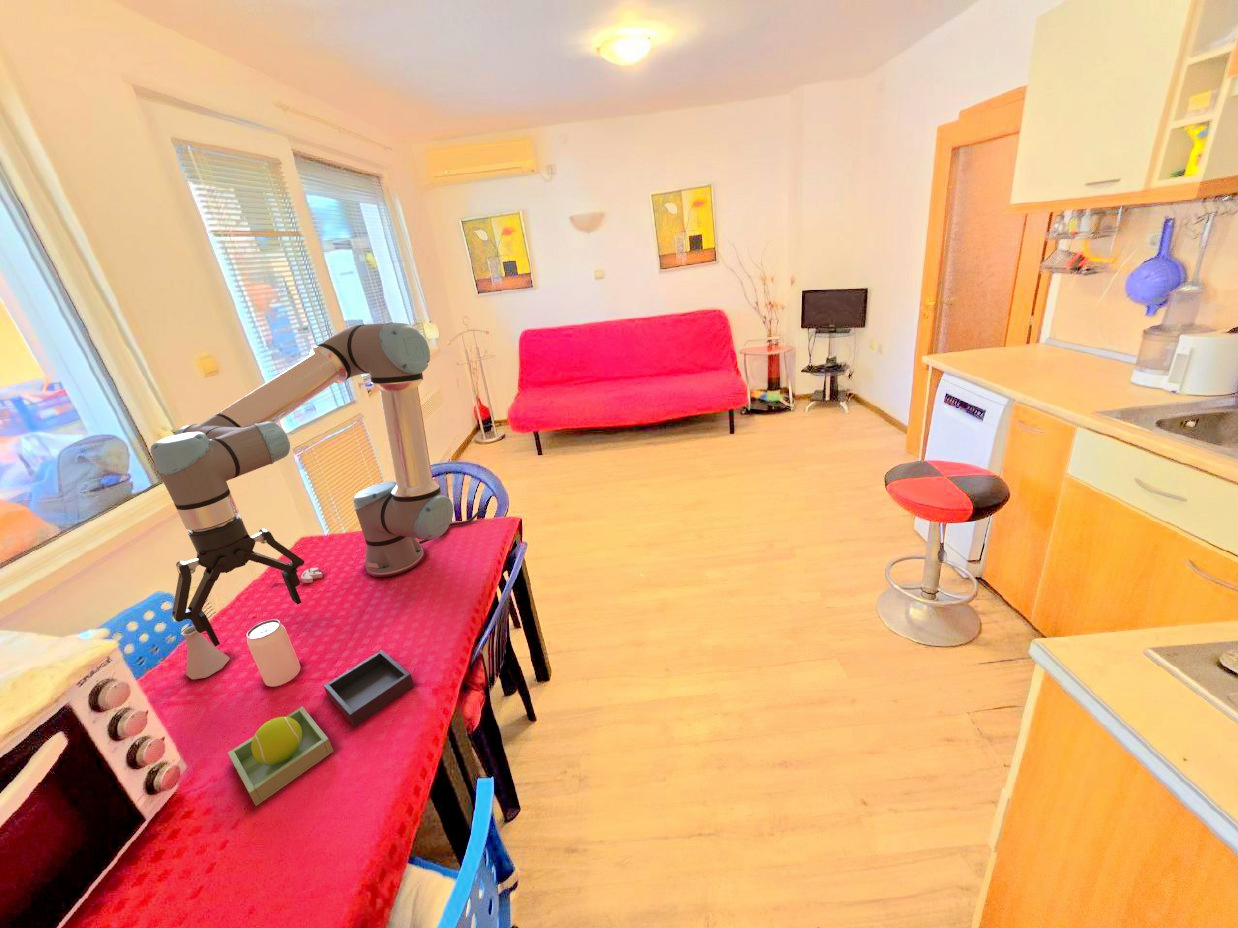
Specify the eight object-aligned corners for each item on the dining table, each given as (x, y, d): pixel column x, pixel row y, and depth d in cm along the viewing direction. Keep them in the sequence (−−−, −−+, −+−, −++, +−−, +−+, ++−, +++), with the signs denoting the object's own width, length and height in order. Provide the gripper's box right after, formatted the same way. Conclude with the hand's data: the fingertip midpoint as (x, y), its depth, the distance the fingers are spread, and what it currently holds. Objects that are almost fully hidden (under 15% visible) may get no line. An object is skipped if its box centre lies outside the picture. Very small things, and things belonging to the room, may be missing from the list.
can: (261, 692, 100) (240, 644, 95) (268, 670, 105) (248, 624, 101) (298, 680, 102) (279, 633, 97) (303, 660, 107) (285, 614, 103)
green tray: (307, 718, 93) (302, 705, 92) (333, 751, 85) (328, 738, 84) (233, 765, 85) (227, 752, 83) (255, 806, 77) (249, 792, 76)
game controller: (323, 579, 137) (320, 571, 136) (274, 595, 132) (270, 587, 131) (322, 570, 141) (319, 562, 140) (275, 585, 136) (271, 577, 135)
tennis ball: (266, 783, 80) (250, 751, 78) (255, 757, 85) (240, 727, 82) (313, 752, 85) (300, 721, 82) (300, 730, 90) (287, 700, 87)
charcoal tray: (385, 661, 105) (381, 649, 104) (414, 685, 98) (410, 673, 97) (327, 697, 97) (323, 685, 96) (354, 727, 90) (349, 714, 89)
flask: (206, 682, 104) (187, 643, 100) (179, 678, 105) (159, 640, 102) (237, 656, 110) (220, 619, 107) (211, 654, 112) (193, 617, 108)
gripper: (284, 489, 98) (318, 580, 106) (114, 549, 80) (170, 653, 88) (299, 497, 93) (334, 592, 101) (122, 563, 76) (181, 671, 84)
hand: (258, 621), depth 95 cm, fingers open, 13 cm apart
